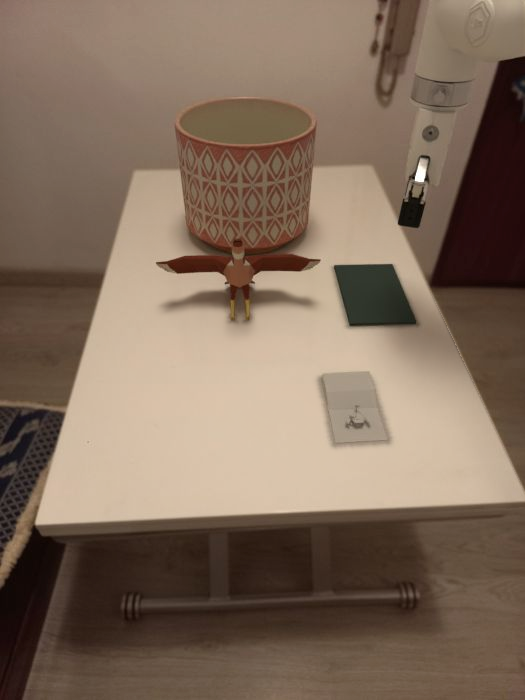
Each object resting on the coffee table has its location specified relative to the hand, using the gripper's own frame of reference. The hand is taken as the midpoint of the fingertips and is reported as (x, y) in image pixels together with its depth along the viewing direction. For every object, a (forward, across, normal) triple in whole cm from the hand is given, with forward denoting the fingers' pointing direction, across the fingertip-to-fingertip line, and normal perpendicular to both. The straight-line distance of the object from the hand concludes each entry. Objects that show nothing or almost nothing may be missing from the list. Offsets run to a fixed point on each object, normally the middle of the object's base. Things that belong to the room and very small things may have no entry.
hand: (411, 211), depth 73 cm
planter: (+19, +18, +34) cm, 43 cm away
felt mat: (+19, +3, +3) cm, 20 cm away
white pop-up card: (+20, -26, +2) cm, 32 cm away
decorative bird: (+19, -8, +26) cm, 34 cm away
